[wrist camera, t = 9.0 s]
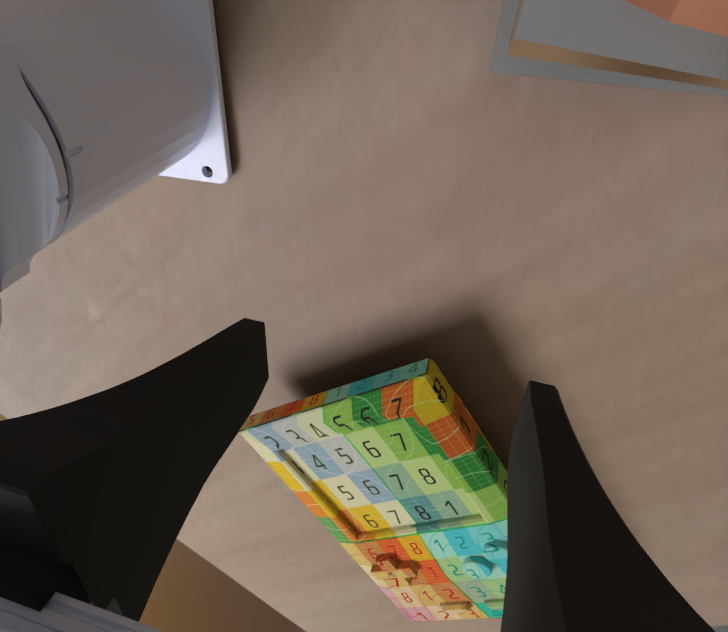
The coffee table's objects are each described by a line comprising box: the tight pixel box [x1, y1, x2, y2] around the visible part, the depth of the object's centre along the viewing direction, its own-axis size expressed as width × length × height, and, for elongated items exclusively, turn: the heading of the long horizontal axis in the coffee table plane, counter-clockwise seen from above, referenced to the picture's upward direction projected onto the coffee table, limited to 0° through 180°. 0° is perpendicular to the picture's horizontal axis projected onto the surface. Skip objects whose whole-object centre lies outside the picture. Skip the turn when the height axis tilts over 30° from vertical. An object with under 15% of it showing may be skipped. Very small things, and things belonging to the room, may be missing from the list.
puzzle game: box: [239, 358, 508, 622], centre depth 30 cm, size 12×5×20 cm
